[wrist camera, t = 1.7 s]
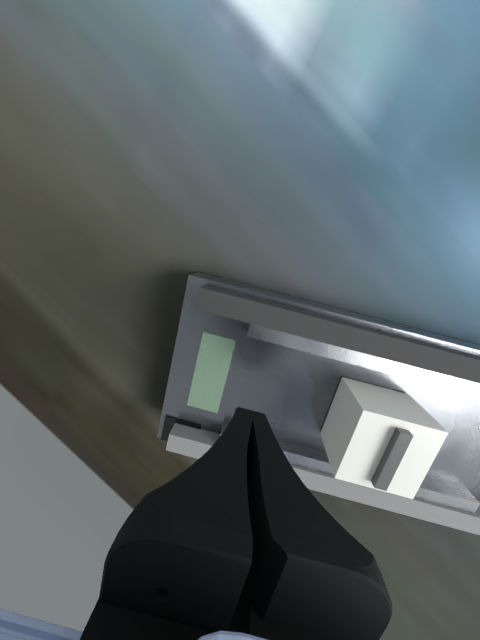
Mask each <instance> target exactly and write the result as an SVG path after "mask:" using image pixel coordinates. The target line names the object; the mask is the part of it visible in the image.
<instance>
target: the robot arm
mask: <svg viewBox="0 0 480 640" xmlns="http://www.w3.org/2000/svg"><path fill="white" fill-rule="evenodd" d="M391 615H392V602H391V599H390V596H389V594H388V591H387V588H386V585H385V582H384V580H383V577H382V574H381V572H380V569H379V567H378V565H377V563H376V560H375V558H374V556H373V554H372V553H370V552H369V551H368V550H367V549H366V548H365V547H364V546H363V545H362V544H360V543H359V542H358V541H357V540H356V539H355V538H354V537H353V536H351V535H350V534H349V533H348V532H347V531H346V530H345V529H344V528H343V527H342V526H341V525H340V524H339V523H338V522H337V521H336V520H335V519H334V518H333V517H332V516H331V515H330V514H329V513H328V512H327V511H326V510H325V509H324V507H323V506H322V505H321V504H320V503H319V502H318V501H317V499H316V498H315V497H314V496H313V495H312V493H311V492H310V491H309V490H308V488H307V487H306V486H305V485H304V483H303V482H302V481H301V479H300V478H299V476H298V475H297V474H296V472H295V471H294V469H293V468H292V466H291V465H290V463H289V461H288V460H287V458H286V456H285V454H284V453H283V451H282V449H281V447H280V445H279V443H278V441H277V439H276V437H275V435H274V433H273V431H272V428H271V426H270V424H269V422H268V419H267V417H266V415H265V414H264V413H260V412H256V411H252V410H249V409H245V408H241V407H238V408H236V409H235V413H234V416H233V418H232V420H231V421H230V423H229V425H228V426H227V428H226V429H225V431H224V432H223V433H222V435H221V436H220V437H219V438H218V440H217V441H216V442H215V443H214V444H213V445H212V447H211V448H210V449H209V450H208V451H207V452H206V453H205V454H204V455H203V456H202V457H201V458H199V459H198V460H197V461H196V462H195V463H194V464H193V465H191V466H190V467H189V468H188V469H186V470H185V471H184V472H182V473H181V474H179V475H178V476H177V477H175V478H174V479H172V480H171V481H169V482H168V483H166V484H164V485H163V486H161V487H159V488H157V489H155V490H154V491H152V492H150V493H148V494H146V495H145V497H144V498H143V499H142V500H141V501H140V503H139V504H138V505H137V506H136V508H135V509H134V510H133V512H132V513H131V514H130V515H129V517H128V518H127V520H126V521H125V523H124V524H123V526H122V528H121V529H120V531H119V532H118V534H117V536H116V538H115V540H114V542H113V544H112V546H111V548H110V550H109V552H108V555H107V557H106V560H105V564H104V570H103V577H102V583H101V590H100V596H99V599H98V601H97V604H96V606H95V608H94V610H93V612H92V614H91V616H90V619H89V621H88V623H87V625H86V627H85V629H84V631H83V632H80V631H77V630H74V629H70V628H66V627H63V626H60V625H56V624H52V623H48V622H45V621H41V620H38V619H34V618H31V617H27V616H24V615H20V614H16V613H13V612H9V611H6V610H2V609H0V640H379V639H380V637H381V635H382V634H383V632H384V630H385V629H386V627H387V625H388V623H389V621H390V618H391Z"/></svg>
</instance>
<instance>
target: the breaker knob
mask: <svg viewBox="0 0 480 640" xmlns="http://www.w3.org/2000/svg"><path fill="white" fill-rule="evenodd" d="M320 434H321V438H322V441H323V444H324V447H325V450H326V453H327V456H328V459H329V462H330V465H331V469H332V472H333V475H334V478H335V479H339V480H343V481H347V482H350V483H354V484H358V485H361V486H365V487H369V488H373V489H376V490H380V491H384V492H387V493H391V494H395V495H398V496H402V497H406V498H410V499H413V498H414V497H415V495H416V493H417V491H418V489H419V487H420V485H421V484H422V482H423V480H424V478H425V476H426V474H427V472H428V470H429V469H430V467H431V465H432V463H433V461H434V459H435V457H436V455H437V454H438V452H439V450H440V448H441V446H442V444H443V442H444V440H445V439H446V437H447V435H448V432H447V431H446V430H445V429H444V428H443V427H442V426H441V425H440V424H439V423H438V422H437V421H436V420H435V419H434V418H433V417H432V416H431V415H430V414H429V413H428V412H427V411H426V410H425V409H424V408H423V407H421V406H420V405H419V404H418V403H417V402H416V401H415V400H414V399H413V398H412V397H411V396H410V395H409V394H405V393H401V392H398V391H394V390H390V389H386V388H383V387H379V386H375V385H371V384H367V383H364V382H360V381H356V380H352V379H348V378H345V377H342V378H341V381H340V383H339V386H338V389H337V391H336V394H335V396H334V399H333V402H332V404H331V407H330V409H329V412H328V415H327V417H326V420H325V422H324V425H323V428H322V430H321V433H320Z"/></svg>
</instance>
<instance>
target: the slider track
mask: <svg viewBox="0 0 480 640" xmlns="http://www.w3.org/2000/svg"><path fill="white" fill-rule="evenodd" d="M203 285H208V286H212V287H216V288H220V289H224V290H228V291H231V292H235V293H239V294H243V295H247V296H251V297H254V298H258V299H262V300H266V301H270V302H274V303H277V304H281V305H285V306H289V307H293V308H297V309H300V310H304V311H308V312H312V313H316V314H320V315H323V316H327V317H331V318H335V319H339V320H343V321H347V322H350V323H354V324H358V325H362V326H366V327H370V328H373V329H377V330H381V331H385V332H389V333H393V334H396V335H400V336H404V337H408V338H412V339H416V340H419V341H423V342H427V343H431V344H435V345H439V346H442V347H446V348H450V349H454V350H458V351H462V352H466V353H469V354H473V355H477V356H480V345H479V344H475V343H471V342H467V341H464V340H460V339H456V338H452V337H448V336H444V335H440V334H437V333H433V332H429V331H425V330H421V329H417V328H414V327H410V326H406V325H402V324H398V323H394V322H390V321H387V320H383V319H379V318H375V317H371V316H367V315H363V314H360V313H356V312H352V311H348V310H344V309H340V308H337V307H333V306H329V305H325V304H321V303H317V302H313V301H310V300H306V299H302V298H298V297H294V296H290V295H287V294H283V293H279V292H275V291H271V290H267V289H263V288H260V287H256V286H252V285H248V284H244V283H240V282H236V281H233V280H229V279H225V278H221V277H217V276H213V275H210V274H206V273H202V272H196V273H193V274H190V275H189V276H188V281H187V286H186V291H185V296H184V301H183V306H182V311H181V316H180V322H179V327H178V332H177V337H176V342H175V347H174V352H173V357H172V362H171V368H170V373H169V378H168V383H167V388H166V393H165V398H164V403H163V408H162V414H161V419H160V424H159V429H158V434H157V437H159V438H161V439H162V440H166V441H168V438H169V434H170V432H171V430H172V428H173V426H174V424H175V423H177V424H181V425H185V426H188V427H192V428H196V429H204V430H207V431H211V432H215V433H218V434H220V436H221V435H222V433H223V432H224V431H225V429H226V428H227V426H228V425H229V423H230V421H231V420H232V418H233V416H234V413H235V409H236V408H238V407H241V408H245V409H249V410H252V411H256V412H260V413H264V414H265V415H266V417H267V419H268V422H269V424H270V426H271V428H272V431H273V433H274V435H275V437H276V439H277V441H278V443H279V445H280V447H281V449H282V451H283V453H284V454H285V456H286V458H287V460H288V461H289V463H290V464H291V465H295V466H298V467H302V468H306V469H310V470H313V471H317V472H321V473H324V474H328V475H332V476H334V475H333V472H332V469H331V465H330V462H329V459H328V456H327V453H326V450H325V447H324V444H323V441H322V438H321V434H320V433H321V430H322V428H323V425H324V422H325V420H326V417H327V415H328V412H329V409H330V407H331V404H332V402H333V399H334V396H335V394H336V391H337V389H338V386H339V383H340V381H341V378H342V377H345V378H348V379H352V380H356V381H360V382H364V383H367V384H371V385H375V386H379V387H383V388H386V389H390V390H394V391H398V392H401V393H405V394H409V395H410V396H411V397H412V398H413V399H414V400H415V401H416V402H417V403H418V404H419V405H420V406H421V407H423V408H424V409H425V410H426V411H427V412H428V413H429V414H430V415H431V416H432V417H433V418H434V419H435V420H436V421H437V422H438V423H439V424H440V425H441V426H442V427H443V428H444V429H445V430H446V431H447V432H448V435H447V437H446V439H445V440H444V442H443V444H442V446H441V448H440V450H439V452H438V454H437V455H436V457H435V459H434V461H433V463H432V465H431V467H430V469H429V470H428V472H427V474H426V476H425V478H424V480H423V482H422V484H421V485H420V487H419V489H418V491H417V493H416V495H415V497H414V498H417V499H421V500H424V501H428V502H432V503H436V504H439V505H443V506H447V507H450V508H454V509H458V510H462V511H465V512H469V513H473V514H474V513H475V512H476V510H477V508H478V507H479V505H480V384H479V383H475V382H471V381H467V380H464V379H460V378H456V377H452V376H448V375H444V374H441V373H437V372H433V371H429V370H425V369H422V368H418V367H414V366H410V365H406V364H402V363H399V362H395V361H391V360H387V359H383V358H380V357H376V356H372V355H368V354H364V353H361V352H357V351H353V350H349V349H345V348H341V347H338V346H334V345H330V344H326V343H322V342H319V341H315V340H311V339H307V338H303V337H299V336H296V335H292V334H288V333H284V332H280V331H277V330H273V329H269V328H265V327H261V326H257V325H254V324H250V323H246V322H242V321H238V320H235V319H231V318H227V317H223V316H219V315H216V314H212V313H208V312H204V311H200V310H196V304H197V299H198V295H199V290H200V287H201V286H203ZM220 436H219V437H220Z"/></svg>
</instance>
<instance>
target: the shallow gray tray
mask: <svg viewBox="0 0 480 640" xmlns="http://www.w3.org/2000/svg"><path fill="white" fill-rule="evenodd" d="M196 310H200V311H204V312H208V313H212V314H216V315H219V316H223V317H227V318H231V319H235V320H238V321H242V322H246V323H250V324H254V325H257V326H261V327H265V328H269V329H273V330H277V331H280V332H284V333H288V334H292V335H296V336H299V337H303V338H307V339H311V340H315V341H319V342H322V343H326V344H330V345H334V346H338V347H341V348H345V349H349V350H353V351H357V352H361V353H364V354H368V355H372V356H376V357H380V358H383V359H387V360H391V361H395V362H399V363H402V364H406V365H410V366H414V367H418V368H422V369H425V370H429V371H433V372H437V373H441V374H444V375H448V376H452V377H456V378H460V379H464V380H467V381H471V382H475V383H479V384H480V356H477V355H473V354H469V353H466V352H462V351H458V350H454V349H450V348H446V347H442V346H439V345H435V344H431V343H427V342H423V341H419V340H416V339H412V338H408V337H404V336H400V335H396V334H393V333H389V332H385V331H381V330H377V329H373V328H370V327H366V326H362V325H358V324H354V323H350V322H347V321H343V320H339V319H335V318H331V317H327V316H323V315H320V314H316V313H312V312H308V311H304V310H300V309H297V308H293V307H289V306H285V305H281V304H277V303H274V302H270V301H266V300H262V299H258V298H254V297H251V296H247V295H243V294H239V293H235V292H231V291H228V290H224V289H220V288H216V287H212V286H208V285H203V286H201V287H200V290H199V295H198V299H197V304H196ZM219 436H220V434H218V433H215V432H211V431H207V430H204V429H196V428H192V427H188V426H185V425H181V424H177V423H175V424H174V426H173V428H172V430H171V432H170V434H169V438H168V442H167V447H166V450H167V451H171V452H175V453H178V454H182V455H186V456H189V457H193V458H197V459H199V458H201V457H202V456H203V455H204V454H205V453H206V452H207V451H208V450H209V449H210V448H211V447H212V445H213V444H214V443H215V442H216V441H217V440H218V438H219ZM290 465H291V464H290ZM291 466H292V468H293V469H294V471H295V472H296V474H297V475H298V476H299V478H300V479H301V481H302V482H303V483H304V485H305V486H306V487H307V488H308V489H311V490H315V491H319V492H322V493H326V494H330V495H333V496H337V497H341V498H344V499H348V500H352V501H355V502H359V503H363V504H367V505H370V506H374V507H378V508H381V509H385V510H389V511H392V512H396V513H400V514H403V515H407V516H411V517H415V518H418V519H422V520H426V521H429V522H433V523H437V524H440V525H444V526H448V527H451V528H455V529H459V530H463V531H466V532H470V533H474V534H477V535H480V505H479V507H478V508H477V510H476V512H475V513H474V514H473V513H469V512H465V511H462V510H458V509H454V508H450V507H447V506H443V505H439V504H436V503H432V502H428V501H424V500H421V499H417V498H413V499H410V498H406V497H402V496H398V495H395V494H391V493H387V492H384V491H380V490H376V489H373V488H369V487H365V486H361V485H358V484H354V483H350V482H347V481H343V480H339V479H335V478H334V476H332V475H328V474H324V473H321V472H317V471H313V470H310V469H306V468H302V467H298V466H295V465H291Z"/></svg>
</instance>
